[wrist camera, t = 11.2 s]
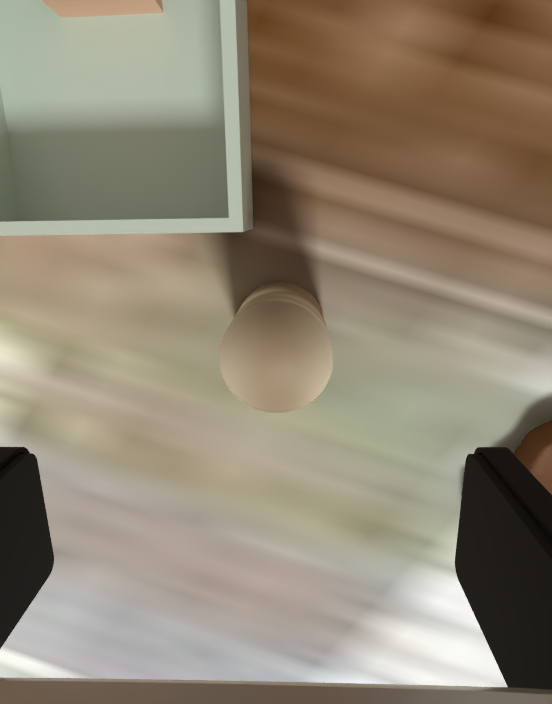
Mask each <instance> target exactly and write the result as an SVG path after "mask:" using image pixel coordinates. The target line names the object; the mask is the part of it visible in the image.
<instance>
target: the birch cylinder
mask: <svg viewBox="0 0 552 704" xmlns="http://www.w3.org/2000/svg"><path fill="white" fill-rule="evenodd" d="M219 363H220V369H221V373H222V376H223V378H224V381H225V383H226V384H227V386H228V388H229V389H230V390H231V392H232V393H233V394H234V395H235V396H236V397H237V398H238V399H239V400H241V401H242V402H243V403H245V404H247V405H248V406H250V407H252V408H255V409H257V410H261V411H265V412H271V413H283V412H289V411H293V410H296V409H299V408H301V407H303V406H305V405H307V404H309V403H310V402H312V401H313V400H314V399H315V398H316V397H317V396H318V395H319V394H320V393H321V392H322V391H323V389H324V388H325V387H326V385H327V383H328V381H329V378H330V376H331V373H332V368H333V349H332V345H331V341H330V338H329V334H328V331H327V328H326V324H325V321H324V317H323V314H322V311H321V308H320V306H319V304H318V302H317V301H316V299H315V298H314V297H313V295H312V294H311V293H310V292H308V291H307V290H306V289H304V288H303V287H301V286H299V285H297V284H294V283H290V282H284V281H277V282H270V283H267V284H264V285H262V286H260V287H258V288H256V289H255V290H253V291H252V292H251V293H250V294H249V295H248V296H247V297H246V299H245V300H244V302H243V303H242V305H241V307H240V308H239V310H238V312H237V314H236V315H235V317H234V319H233V321H232V322H231V324H230V326H229V327H228V329H227V331H226V333H225V335H224V337H223V339H222V342H221V346H220V352H219Z"/></svg>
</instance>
